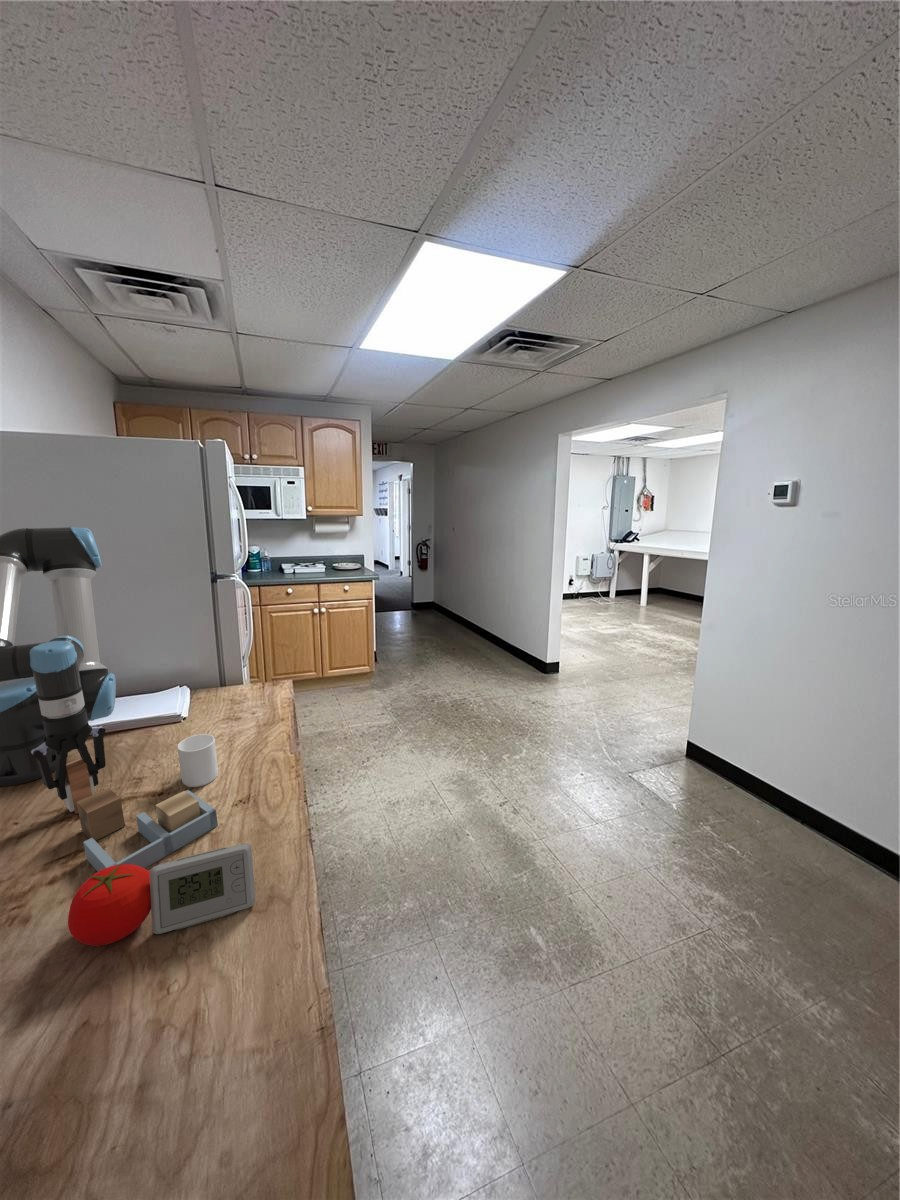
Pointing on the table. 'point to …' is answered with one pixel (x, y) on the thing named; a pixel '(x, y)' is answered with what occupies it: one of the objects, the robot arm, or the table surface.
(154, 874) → the digital clock
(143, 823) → the lane shelf
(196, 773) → the cup
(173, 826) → the oak block
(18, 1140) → the table surface
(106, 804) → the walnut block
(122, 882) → the tomato
